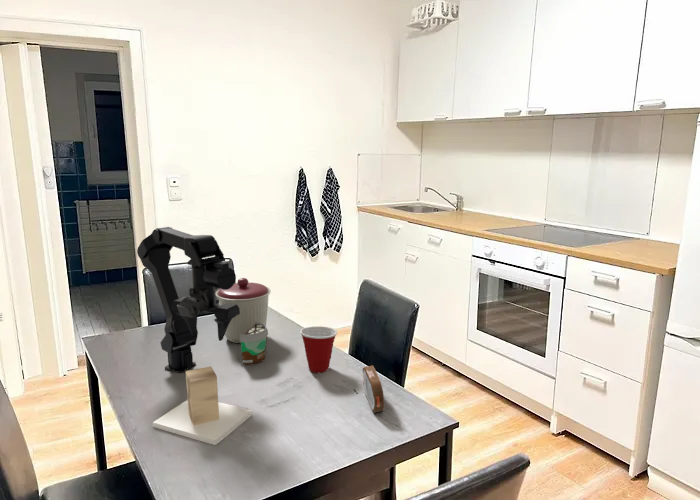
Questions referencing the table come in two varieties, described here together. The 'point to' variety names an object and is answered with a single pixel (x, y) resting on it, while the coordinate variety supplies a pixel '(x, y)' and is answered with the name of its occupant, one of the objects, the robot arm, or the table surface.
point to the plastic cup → (318, 347)
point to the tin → (373, 389)
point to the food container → (254, 344)
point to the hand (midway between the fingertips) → (207, 337)
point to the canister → (245, 306)
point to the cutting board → (205, 432)
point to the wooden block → (202, 395)
